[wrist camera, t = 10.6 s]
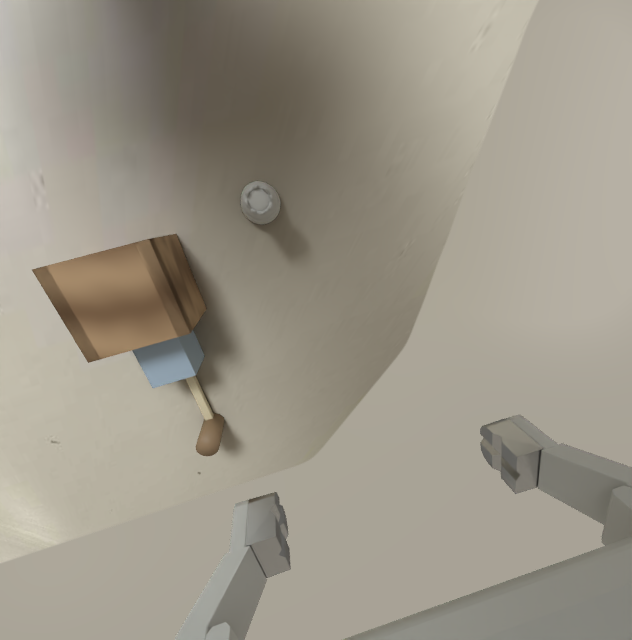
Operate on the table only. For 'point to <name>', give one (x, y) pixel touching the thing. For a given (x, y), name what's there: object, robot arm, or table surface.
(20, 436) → the table surface
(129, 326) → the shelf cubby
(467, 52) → the table surface
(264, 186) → the rook chess piece
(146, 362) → the block with stick handle
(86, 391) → the table surface
